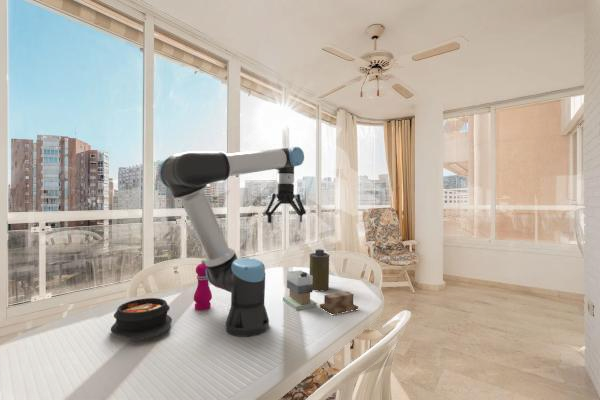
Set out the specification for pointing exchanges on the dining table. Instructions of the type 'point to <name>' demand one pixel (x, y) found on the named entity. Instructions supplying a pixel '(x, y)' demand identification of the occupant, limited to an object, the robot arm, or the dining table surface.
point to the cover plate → (300, 278)
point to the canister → (320, 269)
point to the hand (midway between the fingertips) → (284, 229)
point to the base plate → (300, 288)
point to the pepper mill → (202, 289)
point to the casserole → (142, 318)
